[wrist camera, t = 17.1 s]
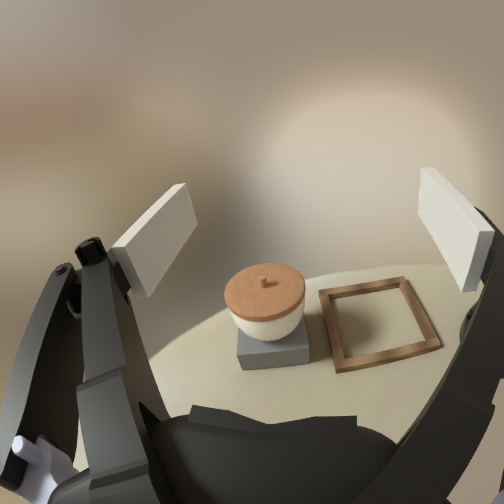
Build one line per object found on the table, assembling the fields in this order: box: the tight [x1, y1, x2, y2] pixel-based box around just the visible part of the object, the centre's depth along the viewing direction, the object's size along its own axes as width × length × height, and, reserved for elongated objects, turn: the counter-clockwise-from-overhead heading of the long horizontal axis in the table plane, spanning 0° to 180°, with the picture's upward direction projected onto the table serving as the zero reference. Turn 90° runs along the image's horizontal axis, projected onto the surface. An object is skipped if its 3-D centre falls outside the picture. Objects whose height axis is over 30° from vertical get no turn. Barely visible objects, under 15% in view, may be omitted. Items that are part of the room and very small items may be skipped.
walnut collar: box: [319, 276, 441, 373], centre depth 42 cm, size 17×17×1 cm
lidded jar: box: [224, 263, 305, 341], centre depth 39 cm, size 11×11×9 cm
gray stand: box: [237, 312, 310, 370], centre depth 43 cm, size 10×10×4 cm
